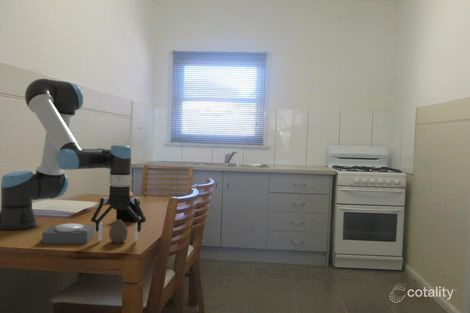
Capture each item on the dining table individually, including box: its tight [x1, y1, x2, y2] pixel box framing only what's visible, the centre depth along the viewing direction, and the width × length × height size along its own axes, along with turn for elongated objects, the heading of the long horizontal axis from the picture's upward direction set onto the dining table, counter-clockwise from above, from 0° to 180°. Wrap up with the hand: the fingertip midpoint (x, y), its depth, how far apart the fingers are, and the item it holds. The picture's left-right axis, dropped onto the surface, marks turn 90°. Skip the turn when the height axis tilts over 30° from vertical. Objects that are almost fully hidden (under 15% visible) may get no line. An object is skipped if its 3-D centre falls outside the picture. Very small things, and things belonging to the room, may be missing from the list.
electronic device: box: [115, 200, 141, 223], centre depth 184 cm, size 4×10×10 cm, turn 78°
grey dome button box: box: [41, 223, 95, 245], centre depth 148 cm, size 16×12×5 cm
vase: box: [108, 219, 129, 244], centre depth 147 cm, size 7×7×9 cm
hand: (118, 239), depth 147 cm, fingers open, 13 cm apart
